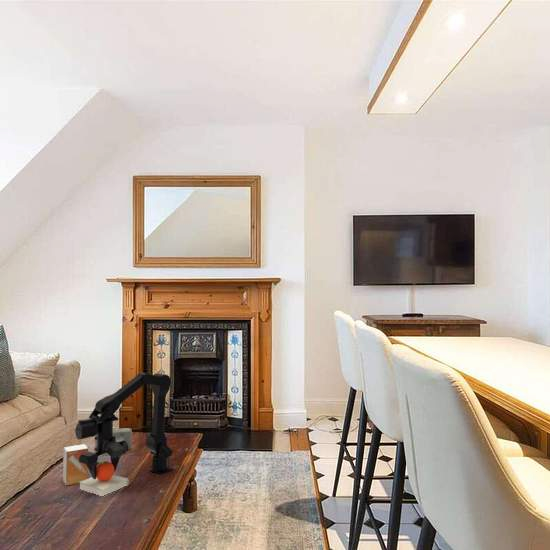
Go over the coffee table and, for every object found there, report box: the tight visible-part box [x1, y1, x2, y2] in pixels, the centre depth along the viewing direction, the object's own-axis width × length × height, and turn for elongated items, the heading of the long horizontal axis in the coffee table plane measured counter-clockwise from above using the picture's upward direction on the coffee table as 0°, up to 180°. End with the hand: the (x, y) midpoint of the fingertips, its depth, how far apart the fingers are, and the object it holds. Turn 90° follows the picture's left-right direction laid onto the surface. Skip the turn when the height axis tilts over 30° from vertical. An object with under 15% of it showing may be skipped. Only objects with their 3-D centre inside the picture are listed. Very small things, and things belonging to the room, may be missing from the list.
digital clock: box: [94, 427, 133, 456], centre depth 222 cm, size 16×9×11 cm, turn 96°
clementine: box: [96, 460, 115, 481], centre depth 182 cm, size 8×7×7 cm
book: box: [79, 473, 130, 497], centre depth 182 cm, size 12×13×3 cm
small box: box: [62, 443, 89, 486], centre depth 189 cm, size 8×6×13 cm
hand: (104, 475), depth 183 cm, fingers open, 8 cm apart
